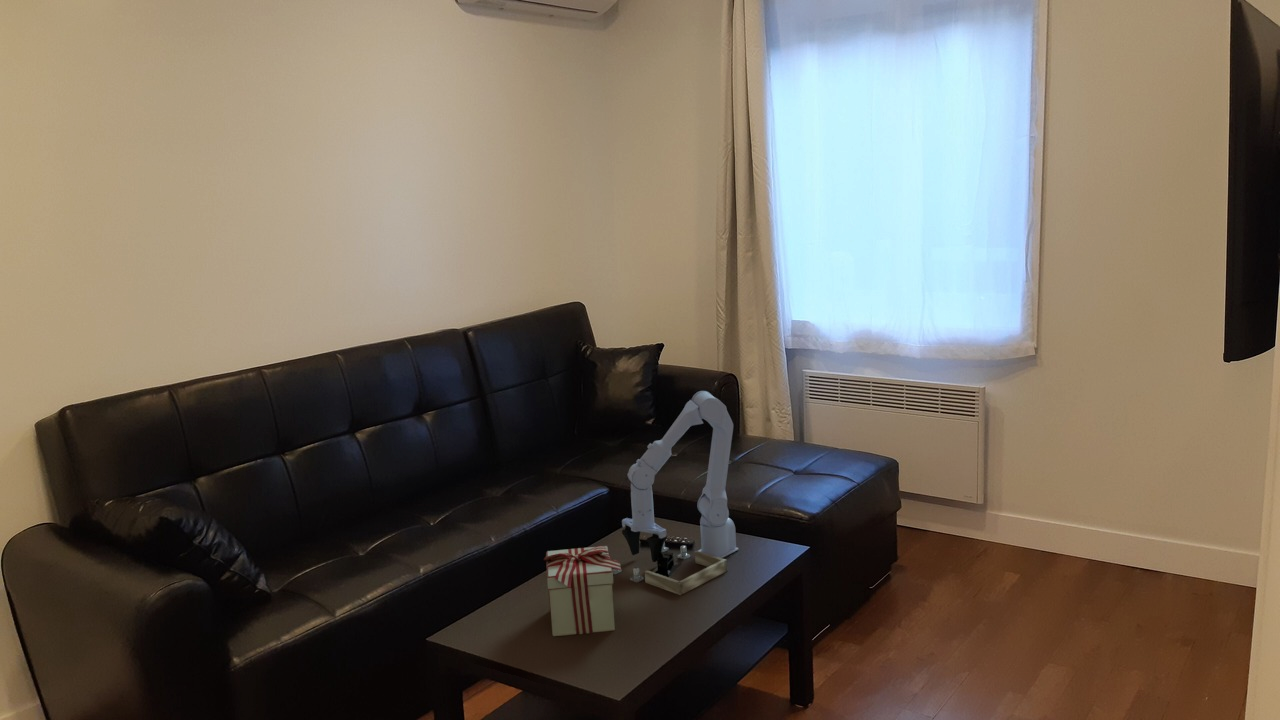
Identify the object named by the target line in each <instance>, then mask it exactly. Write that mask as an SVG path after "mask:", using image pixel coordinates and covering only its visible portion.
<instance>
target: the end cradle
mask: <svg viewBox="0 0 1280 720" xmlns="http://www.w3.org/2000/svg"><path fill="white" fill-rule="evenodd" d="M694 557H695V558H694V560H695V561H694V562H695V564H698V565H702V566H704V568H703V569H701V570H699V571H697V572H695V573H693V574H691V575H689V576H687V577H685V578H684V579H681V580H677V579H674V578H671V577H666V576H663V575H660V574H657V573H654V572H653V571H651V570H645V571H644V582H645V584H648V585H651V586H653V587H657V588H659V589H663V590H665V591H668V592H670V593H673V594H676V595H679V596H682V595H684V594H686V593H688V592H689V591H691V590H693V589H695V588H697V587H699V586H701V585H703V584H705V583H707V582H709V581H711V580H713V579H715V578H717V577H719V576H720V575H722V574H724V573H726V572H728V560H727V559H725V558H719V557H716V556H712V555H709V554H706V553H703V552H699V551H698V550H696V551H694ZM705 567H706V568H705Z"/></svg>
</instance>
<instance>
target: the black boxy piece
mask: <svg viewBox="0 0 1280 720" xmlns="http://www.w3.org/2000/svg"><path fill="white" fill-rule="evenodd" d="M674 560H675V559H674V553H673V552H672V551H669V552H668V551H665V552H661V554H660V555H659V556H658V560H657V561H656V562H657V563H656V565H657V566H656V568H654V569H653V570H652V572H654V573H657V574H660V575H663V576H666V577H669V578H671V576H672V574H674V573H675V572H676V571H677V570H678V569H679V567H681V565H682V564H683V563H682V562H681V563H680V562H675V561H674Z"/></svg>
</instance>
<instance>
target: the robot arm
mask: <svg viewBox="0 0 1280 720" xmlns="http://www.w3.org/2000/svg"><path fill="white" fill-rule="evenodd" d="M703 420H705V421H706V422H707V423H708V424H709V425H710V426H711V427H712V436H711V443H710V452H709V461H708V466H707V475H706V484H705V486H704V487H703V488H702V492H701V495H700V496H699V498H698V500H697V505H696V506H697V507H696V508H697V510H698V511H699V513H700V514H701V517H700V519H699V524H700V525H699V526H700V527H699V528H700V545H701V547H700V549H699V550H697V551H699V552H703V553H706V554H709V555H712V556H716V557H719V558H722V559H724V558H726V557H728V556H729V555H731V554H733V553H735V552H736V551H739V547H738V546H737V540H736V539H737V537H736V536H737V535H736V526H735V523H734V521H733V520H732V519H731V518H730V517H729V516H730V511H729V508H728V497H727V492H726V485H727V477H728V470H729V464H730V463H729V462H730V455H731V448H732V440H733V433H734V423H733V420H732V418H731V416H730V414H729V412H728V410H727V406H726V405H725V403H723V402H722V401H721V400H720V399H719V398H717V397H715V396H713V394H712V393H710V392H709V391H707V390H700V391H697V392H696V393H694V394H693V395H692V398H691V399H689V401H687V402H686V403H685V405H684V408H683V409H682V411H681V412H680V414H679V415H678V416H677V418H676V419H675V420H674V422H672V425H671V426H670V427H669V429H668V430H667V431H666V433H665V434H664V436H663V437H662V438H661V439H660V440H654V441H653V442H652V443H651V442H650V443H649V444H648V445H647V449H646V451H645V452H644V453H643V455H642V456H641V457H640V459H639V458H638V459H637V460H636V461H635V462H636V463H633V464H632V465H631V466H630V467H629V469H628V473H627V478H628V480H629V481H630V482H631V483H630V500H631V501H630V503H631V515H632V516H631V517H632V518H628V517H626V518H623V519H622V520H621V526H622V527H623V528H624V529H623V530H621V534H622V535H623V537H624V538H625V540H626V542H627V544H628V547H629V551H630V553H631V555H632V556H635V555H638V554H640V536H641V533H647V534H650V535H651V536H649V537H647V538H646V541H647V543H648V546H649V548H650V550H649V551H650V557H651V560H652V561H651V562H653V563H656V562H657V560H658V556H659V555H660V554H661V553H662V552H661V550H662V547H663V544H664V542H666V540H667V537H668V534H667V529H666V528H663V527H661V526H660V525H658V524H657V523H656V522H655V514H654V513H655V512H654V510H655V509H654V497H653V495H654V494H653V487H652V485H654V482H655V477H656V475H657V474H658V472H659V471H660V470H661V468H662V467H663V466H664V465H665V464H666V463H667V461H668V460H669V459H670V457H672V447H674V446H675V444H676V443H677V442H678V441H679V440H680V439H681V438H682V437H683V436H684V435H685V433H686V432H687V431H688V430H689V429H690V427H692V426H697V425H702V424H704V421H703Z"/></svg>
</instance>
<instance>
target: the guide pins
mask: <svg viewBox="0 0 1280 720" xmlns="http://www.w3.org/2000/svg"><path fill="white" fill-rule="evenodd" d="M665 542H666V541H665ZM665 542H664V544H663V547H662V550H661V553H662V552H668V551H669V547H667V546H666V543H665ZM679 549H680V553H679V554H677V558H678V559H681V560H687V559H689V558H690V557H691V554H689V553H688V552H687V545H683V544H682V545H680V548H679ZM614 560H615V561H618V559H614ZM632 571H633V576H631V577H629V579H630V581H632V582H635V583H639V582H641V581H643V580H645V577H644V576H642V575H641V574H640V567H638V566H637V567H633V568H632ZM612 572H613V575H617V574H619V573H622V572H623V570H622V568H621V570H617V569H612Z"/></svg>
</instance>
